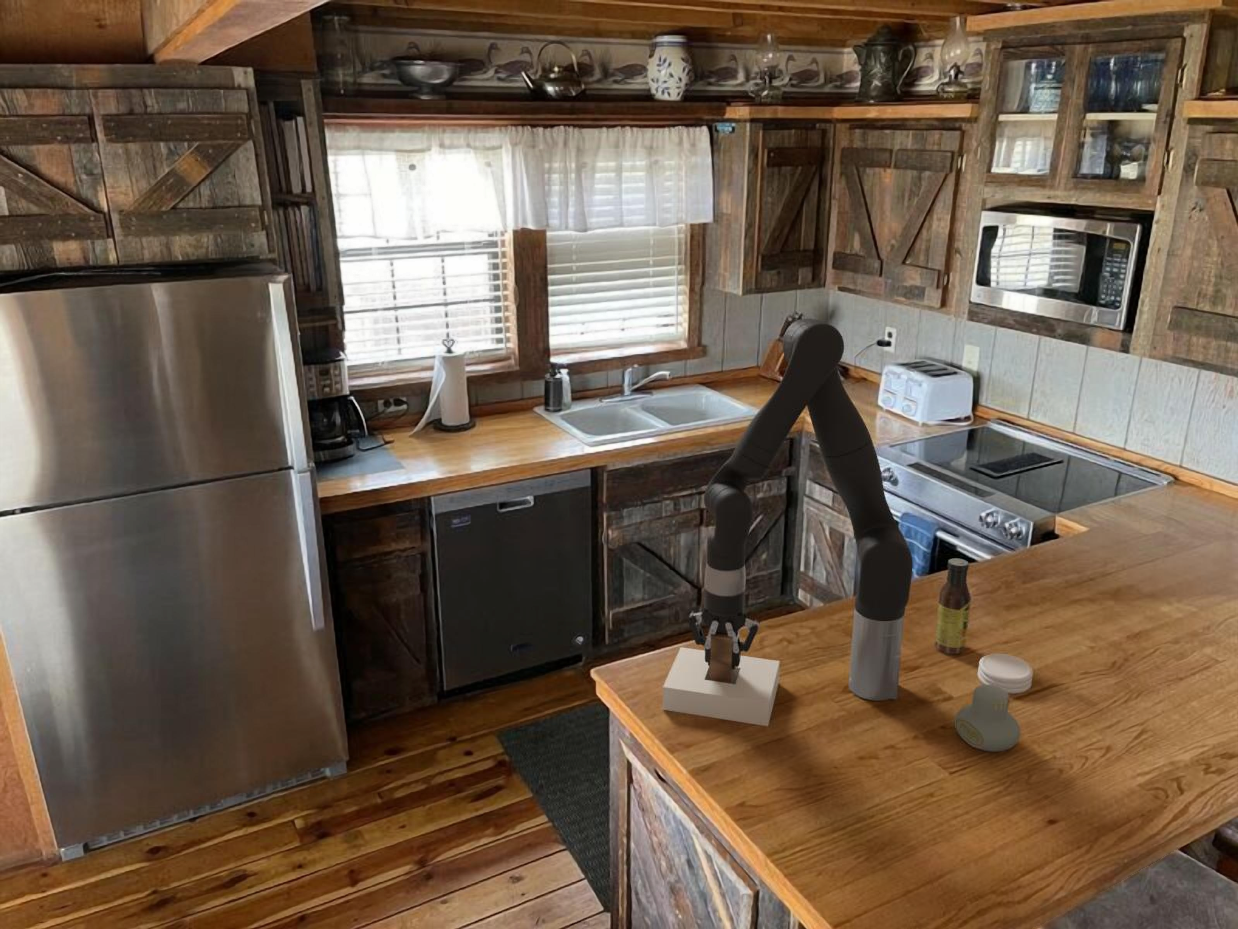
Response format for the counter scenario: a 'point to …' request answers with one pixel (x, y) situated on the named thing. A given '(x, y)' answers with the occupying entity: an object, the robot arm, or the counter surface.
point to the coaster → (1005, 672)
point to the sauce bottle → (953, 609)
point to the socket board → (722, 689)
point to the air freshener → (988, 720)
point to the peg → (721, 658)
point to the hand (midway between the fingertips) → (722, 665)
